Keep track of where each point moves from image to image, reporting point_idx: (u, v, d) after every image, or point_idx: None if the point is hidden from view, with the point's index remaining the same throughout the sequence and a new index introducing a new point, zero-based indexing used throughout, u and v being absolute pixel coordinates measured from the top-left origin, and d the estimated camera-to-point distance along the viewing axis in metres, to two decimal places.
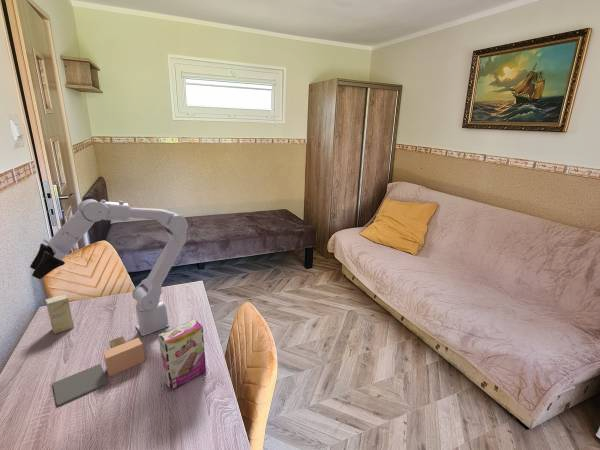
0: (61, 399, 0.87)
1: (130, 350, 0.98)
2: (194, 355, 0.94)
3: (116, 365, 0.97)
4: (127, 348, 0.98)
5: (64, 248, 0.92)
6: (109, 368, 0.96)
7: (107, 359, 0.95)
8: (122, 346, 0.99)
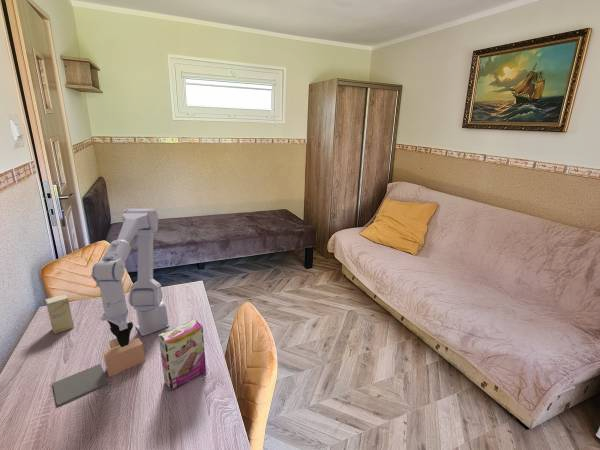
0: (61, 399, 0.87)
1: (130, 350, 0.98)
2: (194, 355, 0.94)
3: (116, 365, 0.97)
4: (127, 348, 0.98)
5: (121, 313, 0.93)
6: (109, 368, 0.96)
7: (107, 359, 0.95)
8: None
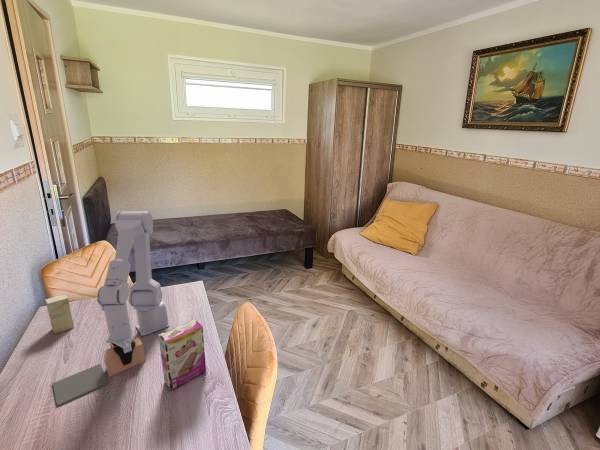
0: (61, 399, 0.87)
1: None
2: (194, 355, 0.94)
3: (116, 365, 0.97)
4: None
5: (125, 336, 0.96)
6: (109, 368, 0.96)
7: (107, 359, 0.95)
8: None
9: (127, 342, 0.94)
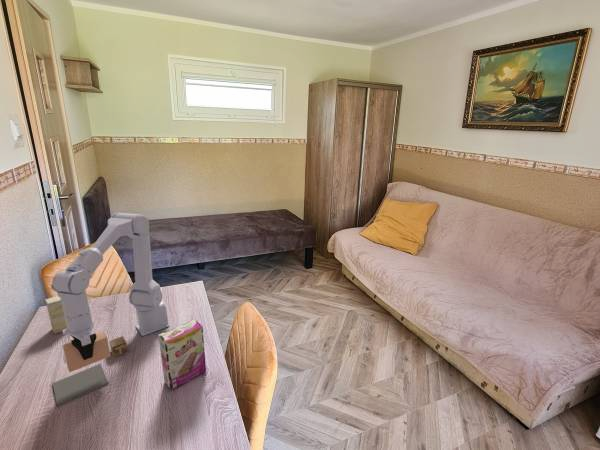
0: (61, 399, 0.87)
1: None
2: (194, 355, 0.94)
3: (77, 360, 0.89)
4: None
5: (84, 327, 0.88)
6: (68, 363, 0.88)
7: (66, 353, 0.87)
8: None
9: (86, 334, 0.86)
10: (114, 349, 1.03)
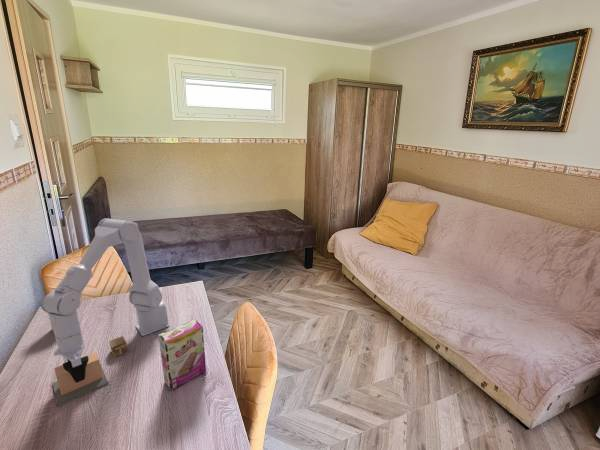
0: (61, 399, 0.87)
1: None
2: (194, 355, 0.94)
3: (69, 383, 0.89)
4: None
5: (75, 348, 0.87)
6: (60, 386, 0.88)
7: (57, 377, 0.87)
8: None
9: (77, 355, 0.86)
10: (114, 349, 1.03)
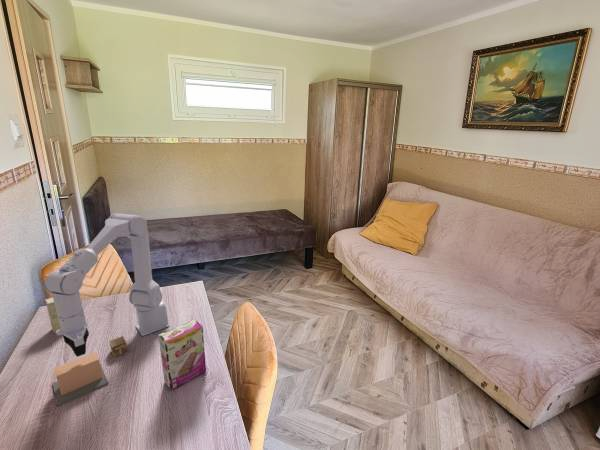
0: (61, 399, 0.87)
1: (84, 366, 0.91)
2: (194, 355, 0.94)
3: (69, 383, 0.89)
4: (82, 364, 0.91)
5: (78, 328, 0.87)
6: (60, 386, 0.88)
7: (57, 377, 0.87)
8: (76, 362, 0.92)
9: (80, 335, 0.86)
10: (114, 349, 1.03)
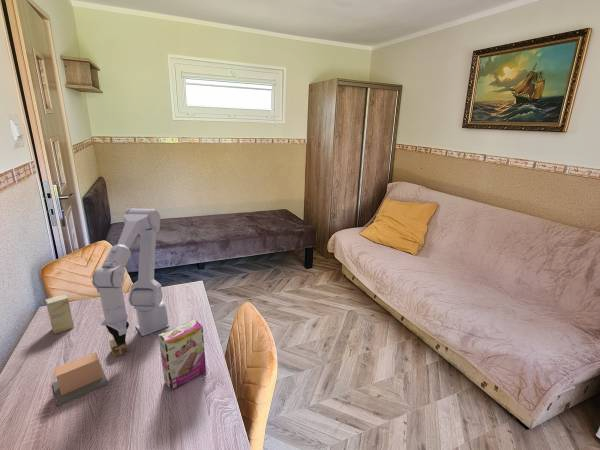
0: (61, 399, 0.87)
1: (84, 366, 0.91)
2: (194, 355, 0.94)
3: (69, 383, 0.89)
4: (82, 364, 0.91)
5: (120, 319, 0.96)
6: (60, 386, 0.88)
7: (57, 377, 0.87)
8: (76, 362, 0.92)
9: (122, 325, 0.95)
10: (114, 349, 1.03)
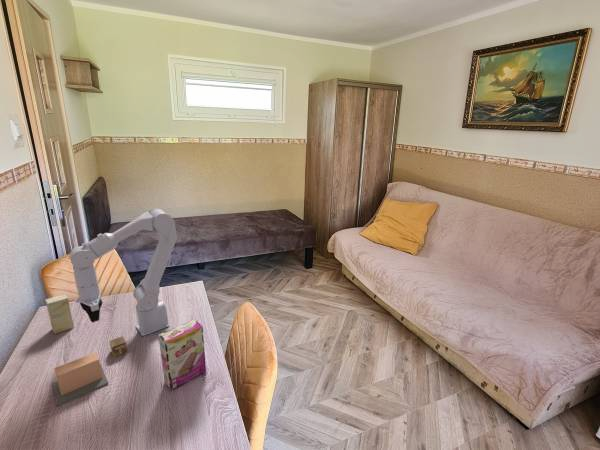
0: (61, 399, 0.87)
1: (84, 366, 0.91)
2: (194, 355, 0.94)
3: (69, 383, 0.89)
4: (82, 364, 0.91)
5: (93, 296, 1.02)
6: (60, 386, 0.88)
7: (57, 377, 0.87)
8: (76, 362, 0.92)
9: (95, 302, 1.01)
10: (114, 349, 1.03)
